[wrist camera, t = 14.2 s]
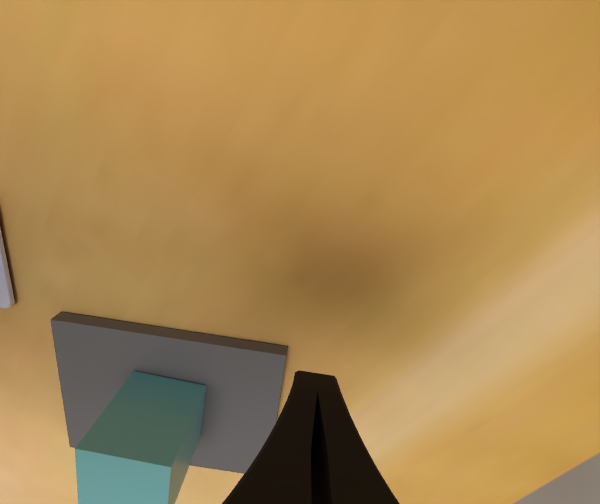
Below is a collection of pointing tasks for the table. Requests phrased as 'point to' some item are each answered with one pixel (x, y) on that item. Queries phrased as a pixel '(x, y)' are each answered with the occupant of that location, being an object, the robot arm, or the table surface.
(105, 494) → the teal square block
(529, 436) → the table surface
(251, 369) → the pin stand
